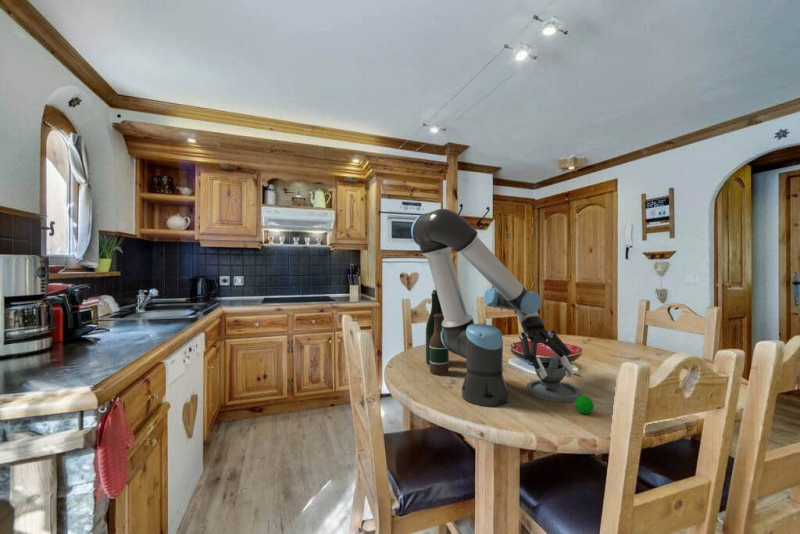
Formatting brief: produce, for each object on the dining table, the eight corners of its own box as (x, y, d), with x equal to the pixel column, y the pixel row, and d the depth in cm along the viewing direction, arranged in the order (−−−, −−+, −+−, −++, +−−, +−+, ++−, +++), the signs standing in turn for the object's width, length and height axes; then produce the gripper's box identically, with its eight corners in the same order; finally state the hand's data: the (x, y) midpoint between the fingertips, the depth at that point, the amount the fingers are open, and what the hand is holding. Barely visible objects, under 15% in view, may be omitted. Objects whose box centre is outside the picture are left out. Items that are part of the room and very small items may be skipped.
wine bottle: (446, 359, 155) (445, 288, 155) (451, 366, 145) (450, 290, 144) (424, 360, 155) (423, 289, 154) (427, 367, 144) (426, 290, 144)
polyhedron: (576, 407, 103) (576, 392, 102) (595, 412, 99) (595, 396, 99) (573, 413, 99) (572, 397, 99) (591, 418, 96) (591, 401, 96)
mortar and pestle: (531, 379, 121) (531, 346, 121) (558, 380, 120) (558, 347, 120) (542, 391, 110) (542, 355, 110) (571, 392, 109) (571, 355, 109)
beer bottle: (439, 377, 132) (438, 316, 131) (425, 372, 138) (425, 314, 137) (452, 372, 136) (452, 314, 136) (438, 368, 142) (438, 312, 142)
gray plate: (568, 406, 103) (568, 402, 103) (518, 392, 115) (518, 387, 115) (587, 392, 114) (587, 388, 114) (540, 380, 126) (540, 376, 126)
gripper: (551, 325, 132) (581, 378, 117) (499, 328, 127) (524, 384, 112) (560, 313, 127) (593, 367, 111) (507, 316, 122) (533, 373, 107)
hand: (558, 375), depth 112 cm, fingers closed on mortar and pestle, 10 cm apart
